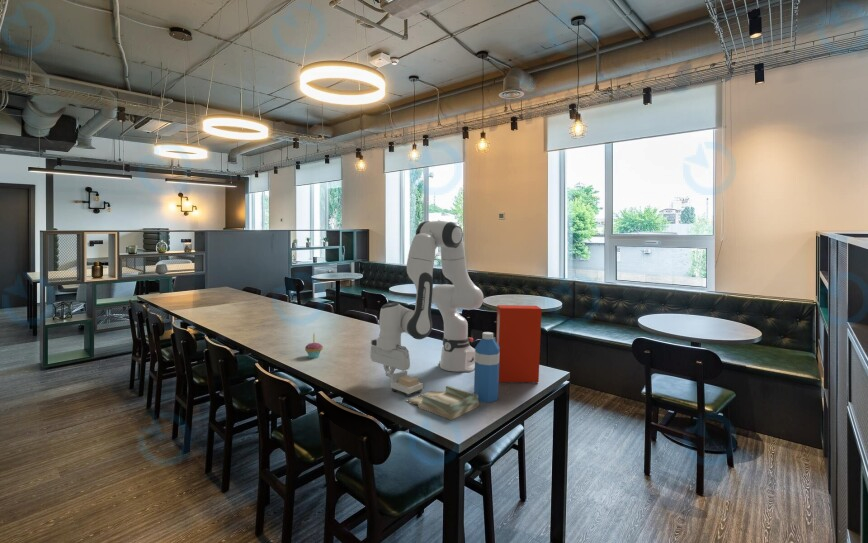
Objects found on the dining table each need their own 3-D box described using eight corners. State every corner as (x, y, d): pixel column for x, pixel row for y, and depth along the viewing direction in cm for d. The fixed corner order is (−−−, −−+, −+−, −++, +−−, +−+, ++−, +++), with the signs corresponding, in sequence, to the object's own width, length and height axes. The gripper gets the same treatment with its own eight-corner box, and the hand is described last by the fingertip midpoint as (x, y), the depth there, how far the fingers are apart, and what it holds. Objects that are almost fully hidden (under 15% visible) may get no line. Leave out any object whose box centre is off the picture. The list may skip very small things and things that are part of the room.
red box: (538, 383, 175) (541, 308, 172) (498, 382, 174) (500, 307, 172) (533, 377, 183) (536, 305, 180) (494, 376, 183) (497, 304, 180)
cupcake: (305, 355, 210) (305, 332, 209) (322, 354, 213) (322, 331, 212) (305, 359, 202) (305, 335, 201) (323, 358, 205) (323, 334, 204)
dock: (431, 392, 164) (431, 379, 164) (478, 409, 149) (479, 394, 149) (402, 404, 152) (402, 389, 152) (450, 423, 137) (451, 407, 137)
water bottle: (496, 393, 163) (497, 330, 161) (500, 402, 153) (502, 336, 152) (472, 392, 162) (474, 330, 160) (475, 402, 153) (477, 335, 151)
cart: (404, 385, 169) (405, 370, 168) (422, 392, 162) (423, 376, 162) (390, 391, 163) (390, 374, 162) (408, 397, 156) (408, 381, 156)
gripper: (413, 346, 163) (413, 380, 164) (379, 337, 176) (379, 369, 177) (402, 349, 158) (401, 384, 159) (367, 339, 172) (367, 372, 173)
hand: (389, 376), depth 168 cm, fingers closed
